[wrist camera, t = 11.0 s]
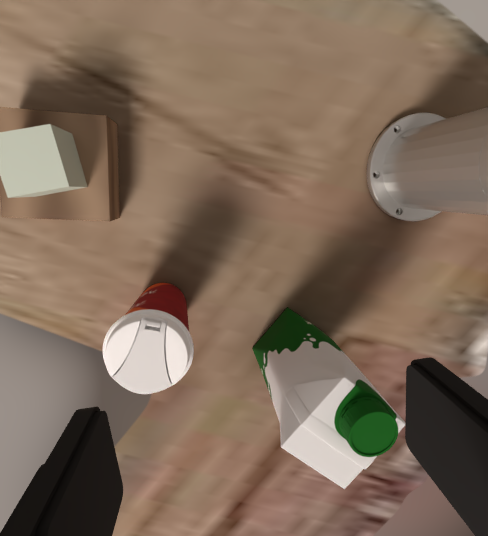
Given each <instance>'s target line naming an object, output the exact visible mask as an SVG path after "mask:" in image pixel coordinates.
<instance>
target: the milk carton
mask: <svg viewBox="0 0 488 536" xmlns="http://www.w3.org/2000/svg"><path fill="white" fill-rule="evenodd" d="M252 349H253V351H254V354H255V356H256V359H257V361H258V364H259V366H260V369H261V371H262V374H263V376H264V379H265V382H266V384H267V387H268V390H269V393H270V396H271V399H272V402H273V404H274V407H275V410H276V413H277V416H278V419H279V422H280V433H281V448H283V449H284V450H286V451H287V452H289V453H290V454H292V455H294V456H295V457H297V458H298V459H300V460H301V461H303V462H304V463H306V464H307V465H309V466H310V467H312V468H313V469H315V470H316V471H318V472H319V473H321V474H322V475H324V476H325V477H327V478H328V479H330V480H331V481H333V482H335V483H336V484H338V485H339V486H341V487H342V488H344V489H345V488H346V487H347V486H348V485H349V484H350V483H351V481H352V480H353V479H354V478H355V477H356V476H357V475H358V474H359V473H360V472H361V471H362V470H363V469H366V468H368V466H369V465H370V464H371V463H372V462H373V461H374V459H375V458H376V457H377V456H378V455H381V454H383V453H385V452H386V451H387V450H389V449H390V448H391V447H392V446H393V444H394V443H395V441H396V439H397V436H398V433H399V432H400V430H401V429H402V428H403V427H404V426H405V422H404V421H403V420H402V418H401V417H400V416H399V415H398V414H397V413H396V412H395V410H394V409H393V408H392V407H391V406H390V405H389V403H388V402H387V401H386V400H385V399H384V398H383V397H382V395H381V394H380V393H379V392H378V391H377V390H376V388H375V387H374V386H373V385H372V384H371V383H370V381H369V380H368V379H367V378H366V377H365V376H364V375H363V373H362V372H361V371H360V370H359V369H358V368H357V367H356V366H355V364H354V363H353V362H352V361H351V360H350V359H349V358H348V357H347V356H346V354H345V353H344V352H343V351H342V350H341V349H340V348H339V347H338V345H337V344H336V343H335V342H334V341H333V340H332V339H331V338H329V337H328V336H327V335H326V334H325V333H323V332H322V331H321V330H320V329H318V328H317V327H316V326H314V325H313V324H312V323H310V322H309V321H307V320H306V319H304V318H303V317H301V316H300V315H298V314H297V313H295V312H294V311H292V310H291V309H289V308H288V307H287V308H286V310H285V311H284V312H283V313H282V314H281V315H280V317H279V318H278V319H277V320H276V321H275V322H274V323H273V325H272V326H271V327H270V328H269V329H268V330H267V332H266V333H265V334H264V335H263V336H262V337H261V339H260V340H259V341H258V342H257V343H256V344H255V346H254V347H253V348H252Z"/></svg>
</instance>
